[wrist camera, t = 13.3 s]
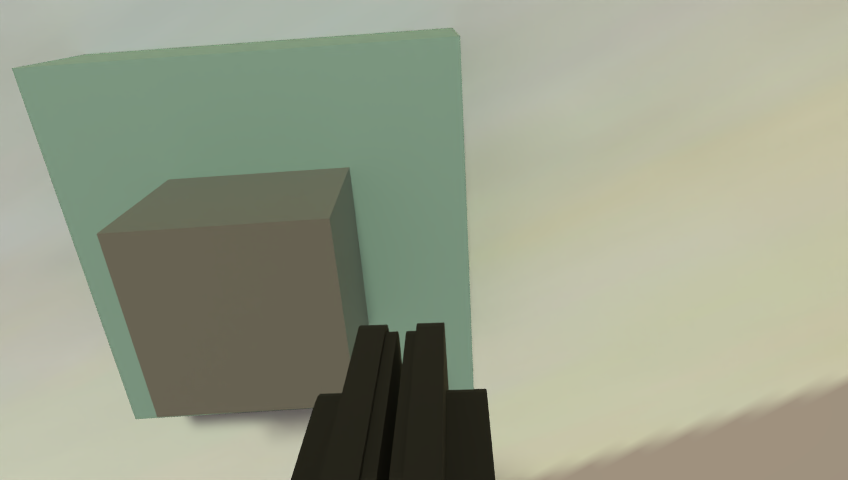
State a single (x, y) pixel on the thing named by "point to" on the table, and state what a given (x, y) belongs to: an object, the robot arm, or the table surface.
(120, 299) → the plug
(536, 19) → the table surface
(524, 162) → the table surface
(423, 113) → the socket
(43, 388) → the table surface
